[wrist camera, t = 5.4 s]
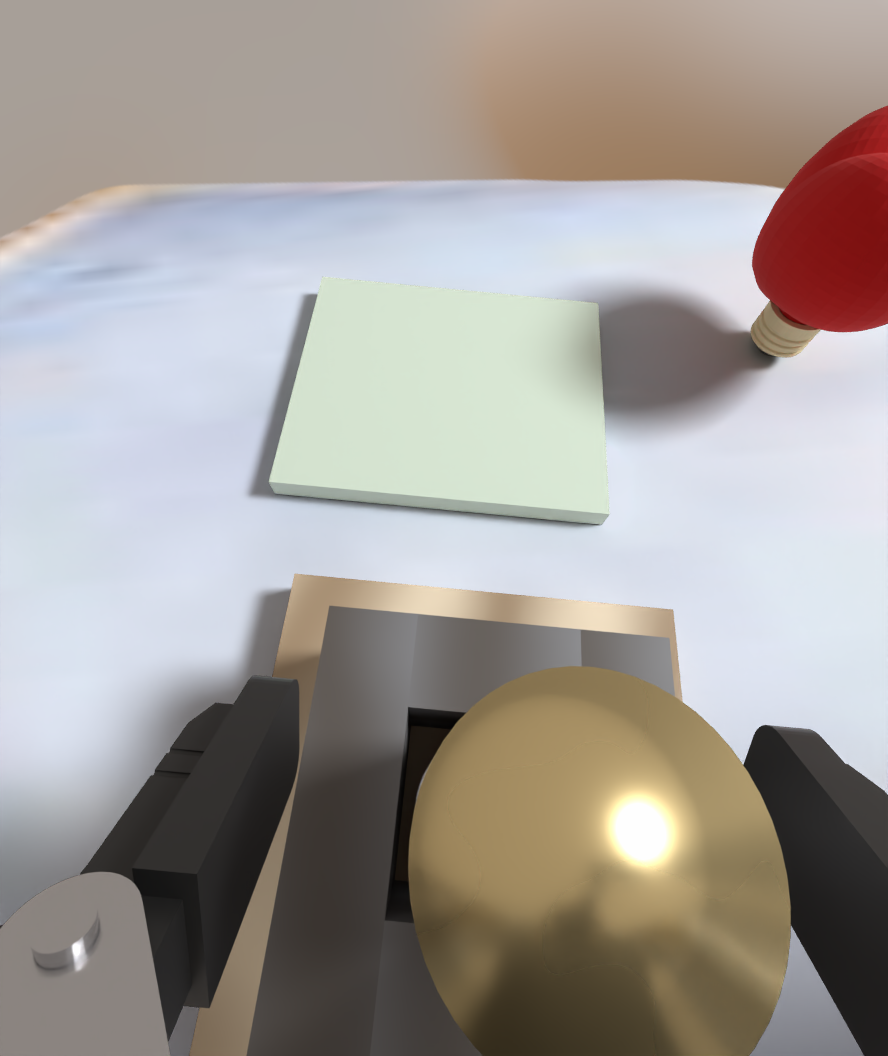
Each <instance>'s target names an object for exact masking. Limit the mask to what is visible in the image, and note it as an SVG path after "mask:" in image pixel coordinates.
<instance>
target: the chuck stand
mask: <svg viewBox="0 0 888 1056" xmlns="http://www.w3.org/2000/svg"><path fill="white" fill-rule="evenodd" d="M567 666H584V667H597V668H603V669H609V670H614V671H618V672H621V673H624V674H628V675H631V676H635V677H637V678H639V679H642V680H644V681H646V682H648V683H651V684H653V685H655V686H657V687H659V688H661V689H662V690H664V691H666V692H668V693H669V694H671V695H673V696H674V697H676V698H678V699H679V700H680V701H682V692H681V682H680V673H679V663H678V653H677V643H676V633H675V624H674V614H673V610H671V609H661V608H650V607H640V606H629V605H618V604H608V603H597V602H587V601H576V600H566V599H555V598H545V597H534V596H524V595H513V594H503V593H492V592H482V591H471V590H461V589H450V588H440V587H429V586H418V585H408V584H397V583H387V582H376V581H366V580H355V579H345V578H334V577H324V576H313V575H303V574H295V575H294V579H293V584H292V588H291V593H290V598H289V602H288V607H287V611H286V616H285V620H284V625H283V629H282V634H281V639H280V643H279V648H278V652H277V657H276V661H275V666H274V671H273V675H272V677H278V678H288V679H297V680H298V683H299V741H300V748H299V761H298V767H297V773H296V777H295V781H294V785H293V788H292V791H291V793H290V796H289V799H288V801H287V804H286V807H285V809H284V812H283V815H282V817H281V820H280V823H279V825H278V828H277V830H276V833H275V836H274V838H273V841H272V844H271V846H270V849H269V852H268V854H267V857H266V860H265V862H264V865H263V868H262V870H261V873H260V876H259V878H258V881H257V884H256V886H255V889H254V892H253V894H252V897H251V900H250V902H249V905H248V908H247V910H246V913H245V916H244V918H243V921H242V923H241V926H240V929H239V931H238V934H237V937H236V939H235V942H234V945H233V947H232V950H231V953H230V955H229V958H228V961H227V963H226V966H225V969H224V971H223V974H222V977H221V979H220V982H219V985H218V987H217V990H216V993H215V995H214V998H213V1001H212V1003H211V1006H210V1008H199V1013H198V1017H197V1022H196V1027H195V1031H194V1036H193V1040H192V1045H191V1049H190V1054H189V1056H483V1055H482V1054H481V1053H480V1052H479V1051H478V1050H477V1049H476V1048H475V1047H474V1046H473V1044H472V1043H471V1042H470V1040H469V1039H468V1038H467V1036H466V1035H465V1034H464V1032H463V1031H462V1030H461V1028H460V1027H459V1026H458V1024H457V1023H456V1022H455V1020H454V1019H453V1017H452V1015H451V1014H450V1012H449V1010H448V1008H447V1007H446V1005H445V1003H444V1001H443V1000H442V998H441V996H440V994H439V993H438V991H437V989H436V986H435V984H434V982H433V979H432V977H431V975H430V972H429V970H428V968H427V965H426V963H425V960H424V957H423V953H422V950H421V947H420V943H419V940H418V937H417V933H416V930H415V924H414V919H413V913H412V908H411V902H410V891H409V876H408V859H409V839H410V833H411V826H412V820H413V814H414V808H415V802H416V797H417V791H418V788H419V784H420V782H421V779H422V777H423V775H424V773H425V771H426V770H427V768H428V766H429V764H430V763H431V761H432V759H433V757H434V756H435V754H436V752H437V751H438V749H439V747H440V745H441V744H442V742H443V740H444V739H445V738H446V736H447V735H448V734H449V732H450V731H451V730H452V728H453V727H454V726H455V724H456V723H457V722H458V721H459V720H460V719H461V718H462V717H463V716H464V715H465V714H466V713H467V712H468V711H469V710H470V708H471V707H472V706H474V705H475V704H476V703H477V702H479V701H480V700H481V699H483V698H484V697H485V696H486V695H488V694H489V693H490V692H492V691H494V690H495V689H497V688H499V687H500V686H502V685H504V684H506V683H507V682H509V681H512V680H514V679H517V678H519V677H521V676H524V675H526V674H529V673H533V672H537V671H541V670H545V669H549V668H558V667H567Z"/></svg>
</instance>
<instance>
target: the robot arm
mask: <svg viewBox="0 0 888 1056" xmlns="http://www.w3.org/2000/svg"><path fill="white" fill-rule="evenodd" d="M299 748H300V741H299V683H298V680H297V679H288V678H278V677H267V676H256V675H254V676H252V677H251V678H250V679H249V681H248V682H247V684H246V685H245V687H244V689H243V690H242V692H241V693H240V695H239V697H238V698H237V700H236V701H235V703H234V705H233V704H222V703H215V704H214V705H212V706H211V707H209V708H208V709H207V710H205V711H204V712H203V713H201V714H200V715H198V716H197V717H196V718H194V719H193V720H192V721H190V722H189V723H188V724H187V725H186V727H185V728H184V730H183V731H182V733H181V734H180V735H179V737H178V738H177V740H176V741H175V742H174V744H173V745H172V747H171V748H170V752H169V753H167V754H166V755H165V756H164V758H163V759H162V761H161V762H160V763H159V765H158V766H157V768H156V769H155V773H154V775H153V776H150V778H149V779H148V780H147V782H146V783H145V785H144V786H143V787H142V789H141V790H140V792H139V793H138V794H137V796H136V797H135V799H134V800H133V801H132V803H131V804H130V806H129V807H128V808H127V810H126V811H125V813H124V814H123V816H122V817H121V818H120V820H119V821H118V823H117V824H116V825H115V827H114V828H113V830H112V831H111V832H110V834H109V835H108V837H107V838H106V839H105V841H104V842H103V844H102V845H101V846H100V848H99V849H98V851H97V852H96V854H95V855H94V856H93V858H92V859H91V861H90V862H89V863H88V865H87V866H86V867H85V868H84V870H83V871H82V872H81V873H80V875H78V876H74V877H72V878H69V879H66V880H63V881H61V882H59V883H57V884H55V885H53V886H51V887H49V888H47V889H46V890H44V891H42V892H41V893H39V894H37V895H36V896H35V897H33V898H32V899H31V900H29V901H28V902H27V903H25V904H24V905H23V906H22V907H21V908H20V909H18V910H17V911H16V912H15V913H14V914H13V915H12V916H11V917H10V918H9V919H8V920H7V922H6V923H5V924H4V925H1V926H0V1056H170V1051H169V1045H168V1041H169V1039H170V1036H171V1034H172V1031H173V1029H174V1027H175V1024H176V1022H177V1020H178V1017H179V1015H180V1012H181V1010H182V1008H183V1006H189V1007H200V1008H210V1006H211V1003H212V1001H213V998H214V995H215V993H216V990H217V987H218V985H219V982H220V979H221V977H222V974H223V971H224V969H225V966H226V963H227V961H228V958H229V955H230V953H231V950H232V947H233V945H234V942H235V939H236V937H237V934H238V931H239V929H240V926H241V923H242V921H243V918H244V916H245V913H246V910H247V908H248V905H249V902H250V900H251V897H252V894H253V892H254V889H255V886H256V884H257V881H258V878H259V876H260V873H261V870H262V868H263V865H264V862H265V860H266V857H267V854H268V852H269V849H270V846H271V844H272V841H273V838H274V836H275V833H276V830H277V828H278V825H279V823H280V820H281V817H282V815H283V812H284V809H285V807H286V804H287V801H288V799H289V796H290V793H291V791H292V788H293V785H294V781H295V777H296V773H297V767H298V761H299ZM743 766H744V767H745V768H746V770H747V771H748V773H749V775H750V777H751V778H752V780H753V782H754V784H755V785H756V787H757V789H758V791H759V793H760V794H761V796H762V799H763V801H764V803H765V805H766V808H767V810H768V812H769V815H770V817H771V819H772V822H773V825H774V828H775V831H776V834H777V837H778V840H779V843H780V846H781V850H782V854H783V859H784V863H785V868H786V873H787V878H788V887H789V896H790V905H791V926H792V928H793V929H794V931H795V933H796V935H797V937H798V938H799V940H800V942H801V944H802V945H803V947H804V949H805V951H806V953H807V954H808V956H809V958H810V960H811V961H812V963H813V965H814V967H815V969H816V970H817V972H818V974H819V976H820V978H821V979H822V981H823V983H824V985H825V986H826V988H827V990H828V992H829V994H830V995H831V997H832V999H833V1001H834V1002H835V1004H836V1006H837V1008H838V1010H839V1011H840V1013H841V1015H842V1017H843V1018H844V1020H845V1022H846V1024H847V1026H848V1027H849V1029H850V1031H851V1033H852V1035H853V1036H854V1038H855V1040H856V1042H857V1043H858V1045H859V1047H860V1049H861V1051H862V1052H863V1054H864V1056H888V795H887V794H886V793H885V791H884V790H882V789H881V788H880V787H878V786H877V785H875V784H874V783H873V782H871V781H870V780H869V779H867V778H866V777H865V776H863V775H862V774H860V773H859V772H858V771H856V770H855V769H854V768H852V767H851V766H849V765H848V764H845V763H844V762H843V761H842V760H841V758H840V757H839V756H838V755H837V754H836V753H835V752H834V751H833V750H832V749H831V747H830V746H829V745H828V744H827V743H826V742H825V741H824V740H823V739H822V737H821V736H820V735H819V734H817V733H816V732H815V731H813V730H810V729H802V728H791V727H781V726H770V725H763V726H761V727H759V728H758V729H757V731H756V732H755V734H754V737H753V739H752V742H751V745H750V748H749V751H748V754H747V756H746V759H745V762H744V765H743Z"/></svg>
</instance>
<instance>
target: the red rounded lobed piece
mask: <svg viewBox="0 0 888 1056" xmlns="http://www.w3.org/2000/svg"><path fill="white" fill-rule="evenodd" d="M752 267H753V271H754V275H755V279H756V282H757V285H758V287H759V289H760V290H761V291H762V293H763V294H764V295H765V296H766V297H767V298H768V299H769V300H770V301H769V303H768V304H767V306H766V307H765V309H764V310H763V311H762V312H761V314H760V315H759V316H758V318H757V319H756V321H755V322H754V323H753V325H752V327H751V337H752V339H753V341H754V342H755V344H756V345H757V346H758V347H759V349H760V351H761V352H762V353H764V354H766V355H770V356H777V357H792V356H795V355H797V354H799V353H800V352H801V351H802V350H803V349H804V348H805V347H806V346H807V345H808V343H809V342H810V341H811V340H812V339H813V338H814V336H815V335H816V334H817V333H818V332H819V331H820V330H826V331H832V332H856V331H863V330H868V329H872V328H876V327H879V326H882V325H885V324H888V106H885V107H883V108H881V109H878V110H876V111H873V112H872V113H869V114H867V115H866V116H864V117H863V118H861V119H859V120H858V121H857V122H855V123H853V124H852V125H850V126H849V127H847V128H846V129H844V130H843V131H842V132H840V133H839V134H838V135H836V136H835V137H834V138H832V139H831V140H830V141H829V142H828V143H827V144H826V145H825V146H824V147H822V149H820V150H819V151H818V152H817V153H816V154H815V155H814V156H813V157H812V158H811V159H810V160H809V161H808V162H807V163H806V164H805V165H804V166H803V167H802V168H801V169H800V170H799V172H798V173H797V174H796V175H795V177H794V178H793V180H792V181H791V182H790V183H789V185H788V186H787V187H786V189H785V190H784V191H783V193H782V194H781V195H780V197H779V198H778V200H777V201H776V203H775V205H774V206H773V208H772V210H771V212H770V214H769V216H768V218H767V220H766V222H765V223H764V225H763V227H762V229H761V231H760V234H759V236H758V238H757V241H756V244H755V248H754V252H753V259H752Z"/></svg>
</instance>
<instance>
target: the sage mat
mask: <svg viewBox="0 0 888 1056" xmlns="http://www.w3.org/2000/svg"><path fill="white" fill-rule="evenodd" d="M269 483H270V485H271V487H272V489H273V491H274V493H275V494H284V495H295V496H305V497H316V498H326V499H337V500H347V501H358V502H368V503H379V504H389V505H400V506H411V507H421V508H432V509H442V510H453V511H463V512H474V513H484V514H495V515H505V516H516V517H526V518H537V519H547V520H558V521H568V522H579V523H589V524H600V525H602V524H603V523H604V521H605V520H606V518H607V517H608V516H609V495H608V476H607V458H606V439H605V420H604V401H603V383H602V364H601V345H600V326H599V308H598V303H592V302H582V301H571V300H561V299H550V298H540V297H529V296H519V295H508V294H498V293H487V292H477V291H466V290H456V289H445V288H435V287H424V286H414V285H403V284H393V283H382V282H372V281H361V280H351V279H340V278H330V277H322V280H321V284H320V288H319V292H318V295H317V299H316V303H315V307H314V311H313V315H312V318H311V322H310V326H309V330H308V334H307V337H306V341H305V345H304V349H303V353H302V357H301V360H300V364H299V368H298V372H297V376H296V379H295V383H294V387H293V391H292V395H291V399H290V402H289V406H288V410H287V414H286V418H285V421H284V425H283V429H282V433H281V437H280V440H279V444H278V448H277V452H276V456H275V460H274V463H273V467H272V471H271V475H270V479H269Z"/></svg>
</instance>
